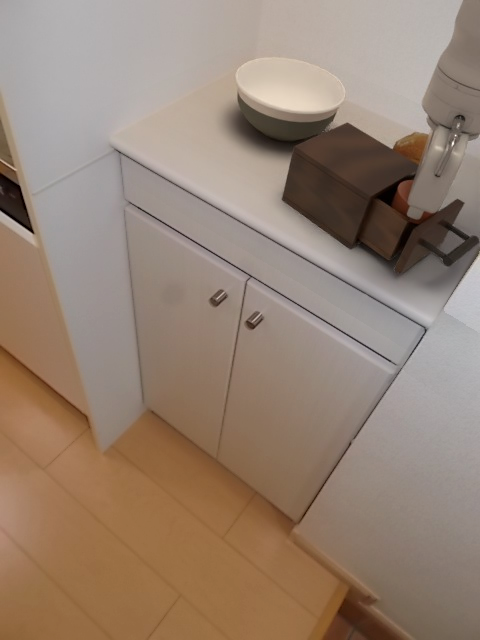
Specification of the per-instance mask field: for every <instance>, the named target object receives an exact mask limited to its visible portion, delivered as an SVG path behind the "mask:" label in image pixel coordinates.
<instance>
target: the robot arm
mask: <svg viewBox="0 0 480 640" xmlns="http://www.w3.org/2000/svg"><path fill="white" fill-rule="evenodd" d="M421 107H422V109H423V111H424V113H425V114H426V115H427V116H426V124H427V125H428V126H429V128H430V129H429V133H428V134H429V136H428V139H427V142H426V145H425V148H424V151H423V154H422V157H421V160H420V163H419V166H418V169H417V172H416V175H415V178H414V181H413V184H412V187H411V190H410V193H409V197H408V201H407V203H408V205H410V206H409V208H408V211H407V216H408V217H411V218H413V219H417V220H418V219H420V218H421V216H422V214H423V212H424V211H426V212H429V213H435V212H437V211H438V212H439V211H440V209H439V208H441V207H442V205H443V203H444V201H445V199H446V197H447V195H448V193H449V191H450V189H451V187H452V185H453V183H454V180H455V178H456V177H457V174H458V172H459V171H460V168H461V165H462V163H463V161H464V159H465V155H466V151H467V147H468V143H469V142H471V141H475V140H476V139H478V138H479V137H480V0H462V2H461V4H460V7H459V9H458V11H457V13H456V16H455V19H454V28H453V32H452V36H451V39H450V41H449V43H448V45H447V46H446V48H445V49H444V50H443V52H442V53H441V55H440V56H439V58H438V61H437V63H436V66H435V68H434V70H433V73H432V75H431V77H430V80H429V82H428V85H427V88H426V90H425V92H424V95H423V97H422V100H421Z"/></svg>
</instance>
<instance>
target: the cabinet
mask: <svg viewBox="0 0 480 640" xmlns="http://www.w3.org/2000/svg"><path fill="white" fill-rule="evenodd" d="M418 166H419V165H418V164H416V163H414V162H413V161H411V160H409V159H408V158H406V157H404V156H403V155H401V154H399V153H398V152H396V151H394V150H393V148H391V147H389V146H388V145H386V144H385V143H383V142H382V141H379V140H378V139H376V138H375V137H373V136H371V135H369V134H368V133H366V132H365V131H363V130H361V129H359V128H358V127H356V126H354V125H353V124H351V123H350V122H345V123H343V124H340V125H338V126H335V127H334V128H332V129H329V130H327V131H325V132H323V133H322V132H321V133H319V134H317V135H315V136H312V137H310V138H309V139H307V140H305V141H302V142H300V143H298V144H296V145H294V146H293V148H292V154H291V158H290V162H289V166H288V170H287V175H286V179H285V184H284V188H283V193H282V197H281V200H282V202H285V203H286V204H287V205H288V206H290V207H291V208H292V209H294V210H296V211H297V212H298V213H299V214H301V215H303V217H305V218H306V219H308V220H310V221H311V222H312V223H313V224H315V225H316V226H318V227H319V228H320V229H322V230H323V231H324V232H326V233H327V234H328V235H330V236H332V237H333V238H334V239H335V240H337V241H338V242H340V243H341V244H342V245H344V246H345V247H347V248H348V249H350V250H351V249H353V248H355V247H356V246H358V245H359V244H361V243H363V242H362V241H360V240H359V239H358V238H357V237H358V235H359V232H360V230H361V227H362V225H363V222H364V220H365V217H366V214H367V212H368V209H369V207H370V204H371V202H372V199H374V198H376V197H377V196H379V195H381V194H382V193H384V192H386V191H387V190H389V189H391V188H392V187H394V186H396V185H398V184H399V183H401V182H403V181H404V180H406V179H408V178H409V177H411V176H414V177H415V175H416V172H417V169H418Z"/></svg>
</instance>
